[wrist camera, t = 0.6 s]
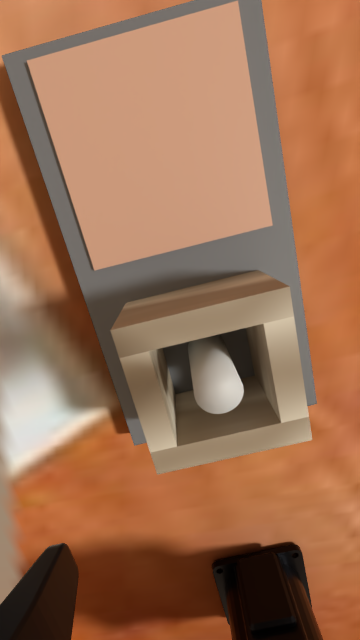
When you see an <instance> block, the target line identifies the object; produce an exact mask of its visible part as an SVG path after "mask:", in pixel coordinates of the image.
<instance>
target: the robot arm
mask: <svg viewBox="0 0 360 640" xmlns="http://www.w3.org/2000/svg"><path fill="white" fill-rule="evenodd" d="M212 568H213V574H214V577H215V581H216V584H217V588H218V591H219V594H220V598H221V601H222V604H223V608H224V611H225V615H226V618H227V621H228V624H229V625H230V628H231V635H232V640H323V638H322V635H321V633H320V630H319V627H318V624H317V622H316V619H315V616H314V613H313V611H312V605H311V599H310V594H309V588H308V583H307V577H306V572H305V566H304V561H303V555H302V552H301V549H300V547H299V546H298V545H289V546H284V547H279V548H275V549H270V550H265V551H260V552H256V553H251V554H246V555H241V556H237V557H232V558H227V559H222V560H218V561H215V562H214V563H213V564H212ZM77 586H78V567H77V565H76V562H75V560H74V558H73V556H72V554H71V551H70V549H69V547H68V545H67V544H65V543H61V544H56V545H52V546H49V547H48V548H47V549H46V550H45V551H44V552H43V553H42V554H41V556H40V557H39V558H38V559H37V561H36V562H35V563H34V564H33V565H32V567H31V568H30V569H29V570H28V572H27V573H26V574H25V575H24V576H23V578H22V579H21V580H20V581H19V583H18V584H17V585H16V586H15V587H14V589H13V590H12V591H11V592H10V594H9V595H8V596H7V597H6V599H5V600H4V601H3V602H2V603H1V605H0V640H71V635H72V627H73V619H74V611H75V602H76V594H77Z"/></svg>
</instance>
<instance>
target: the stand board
mask: <svg viewBox="0 0 360 640" xmlns="http://www.w3.org/2000/svg"><path fill="white" fill-rule="evenodd" d="M2 58H3V61H4V64H5V67H6V70H7V73H8V76H9V79H10V82H11V85H12V88H13V91H14V93H15V96H16V99H17V102H18V105H19V108H20V111H21V114H22V117H23V120H24V123H25V126H26V129H27V132H28V135H29V138H30V140H31V143H32V146H33V149H34V152H35V155H36V158H37V161H38V164H39V167H40V170H41V173H42V176H43V179H44V182H45V184H46V187H47V190H48V193H49V196H50V199H51V202H52V205H53V208H54V211H55V214H56V217H57V220H58V223H59V226H60V228H61V231H62V234H63V237H64V240H65V243H66V246H67V249H68V252H69V255H70V258H71V261H72V264H73V267H74V270H75V273H76V275H77V278H78V281H79V284H80V287H81V290H82V293H83V296H84V299H85V302H86V305H87V308H88V311H89V314H90V317H91V319H92V322H93V325H94V328H95V331H96V334H97V337H98V340H99V343H100V346H101V349H102V352H103V355H104V358H105V361H106V363H107V366H108V369H109V372H110V375H111V378H112V381H113V384H114V387H115V390H116V393H117V396H118V399H119V402H120V405H121V408H122V410H123V413H124V416H125V419H126V422H127V425H128V428H129V431H130V434H131V437H132V440H133V443H134V445H138V444H143V443H147V441H146V438H145V435H144V432H143V429H142V426H141V423H140V419H139V416H138V413H137V410H136V407H135V404H134V401H133V398H132V395H131V392H130V389H129V386H128V383H127V380H126V377H125V373H124V370H123V367H122V364H121V361H120V358H119V355H118V352H117V349H116V346H115V343H114V340H113V337H112V334H111V331H110V330H111V328H112V327H113V325H114V323H115V321H116V320H117V318H118V316H119V314H120V312H121V311H122V309H123V307H124V305H125V304H126V303H127V302H131V301H135V300H139V299H143V298H147V297H151V296H155V295H159V294H164V293H168V292H172V291H176V290H180V289H184V288H188V287H192V286H196V285H200V284H204V283H208V282H212V281H216V280H220V279H224V278H228V277H232V276H236V275H240V274H244V273H248V272H252V271H256V270H259V271H261V272H263V273H265V274H267V275H269V276H271V277H273V278H275V279H276V280H278V281H280V282H282V283H284V284H286V285H288V286H290V292H291V299H292V306H293V313H294V319H295V326H296V333H297V340H298V346H299V353H300V360H301V367H302V373H303V380H304V387H305V394H306V400H307V406H310V405H314V404H317V401H316V394H315V386H314V379H313V372H312V365H311V357H310V350H309V343H308V336H307V328H306V321H305V314H304V306H303V299H302V292H301V285H300V277H299V270H298V263H297V256H296V248H295V241H294V234H293V227H292V219H291V212H290V205H289V198H288V190H287V183H286V176H285V169H284V161H283V154H282V147H281V140H280V132H279V125H278V118H277V111H276V103H275V96H274V89H273V82H272V74H271V67H270V60H269V53H268V45H267V38H266V31H265V24H264V16H263V9H262V2H261V0H194V1H190V2H187V3H183V4H180V5H176V6H173V7H169V8H166V9H162V10H159V11H155V12H152V13H149V14H145V15H142V16H138V17H135V18H131V19H128V20H124V21H121V22H117V23H114V24H110V25H107V26H103V27H100V28H96V29H93V30H89V31H86V32H82V33H79V34H75V35H72V36H68V37H65V38H61V39H58V40H54V41H51V42H47V43H44V44H40V45H37V46H33V47H30V48H26V49H23V50H19V51H16V52H12V53H9V54H5V55H2ZM163 351H164V355H165V358H166V362H167V366H168V369H169V373H170V376H171V380H172V383H173V387H174V390H175V394H178V393H183V392H187V391H191V390H194V397H195V400H196V402H197V404H198V405H199V406H200V408H202V409H203V410H205V411H206V412H209V413H213V414H223V413H227V412H229V411H231V410H233V409H234V408H235V407H237V406H238V404H239V403H240V402H241V400H242V397H243V393H244V389H243V384H242V382H241V379H242V378H247V377H251V376H255V373H254V368H253V363H252V358H251V353H250V348H249V343H248V338H247V333H246V328H243V329H239V330H235V331H231V332H227V333H222V334H218V335H214V336H210V337H206V338H202V339H197V340H193V341H189V342H185V343H181V344H177V345H172V346H168V347H164V348H163Z"/></svg>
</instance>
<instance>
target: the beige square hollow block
mask: <svg viewBox="0 0 360 640" xmlns="http://www.w3.org/2000/svg"><path fill="white" fill-rule="evenodd" d="M243 328H246V333H247V338H248V343H249V348H250V353H251V358H252V363H253V368H254V373H255V376H251V377H247V378H242V379H241V382H242V384H243V389H244V393H243V397H242V400H241V402H240V403H239V404H238V406H237V407H235V408H234V409H233V410H231V411H229V412H227V413H223V414H213V413H209V412H206V411H205V410H203V409H202V408H200V406H199V405H198V404H197V402H196V400H195V397H194V390H191V391H187V392H183V393H178V394H175V390H174V387H173V383H172V380H171V376H170V373H169V369H168V366H167V362H166V358H165V355H164V351H163V348H164V347H168V346H172V345H177V344H181V343H185V342H189V341H193V340H197V339H202V338H206V337H210V336H214V335H218V334H222V333H227V332H231V331H235V330H239V329H243ZM110 331H111V334H112V337H113V340H114V343H115V346H116V349H117V352H118V355H119V358H120V361H121V364H122V367H123V370H124V373H125V377H126V380H127V383H128V386H129V389H130V392H131V395H132V398H133V401H134V404H135V407H136V410H137V413H138V416H139V419H140V423H141V426H142V429H143V432H144V435H145V438H146V441H147V444H148V447H149V450H150V453H151V456H152V459H153V462H154V465H155V469H156V472H157V474H162V473H166V472H171V471H175V470H180V469H184V468H189V467H193V466H198V465H202V464H207V463H211V462H216V461H220V460H224V459H229V458H233V457H238V456H242V455H247V454H251V453H256V452H260V451H265V450H269V449H274V448H278V447H283V446H287V445H292V444H296V443H301V442H305V441H310V440H312V434H311V427H310V421H309V414H308V407H307V400H306V394H305V387H304V380H303V373H302V367H301V360H300V353H299V346H298V340H297V333H296V326H295V319H294V313H293V306H292V299H291V292H290V286H288V285H286V284H284V283H282V282H280V281H278V280H276V279H275V278H273V277H271V276H269V275H267V274H265V273H263V272H261V271H259V270H256V271H252V272H248V273H244V274H240V275H236V276H232V277H228V278H224V279H220V280H216V281H212V282H208V283H204V284H200V285H196V286H192V287H188V288H184V289H180V290H176V291H172V292H168V293H164V294H159V295H155V296H151V297H147V298H143V299H139V300H135V301H131V302H127V303H126V304H125V305H124V307H123V309H122V311H121V312H120V314H119V316H118V318H117V320H116V321H115V323H114V325H113V327H112V328H111V330H110Z"/></svg>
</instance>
